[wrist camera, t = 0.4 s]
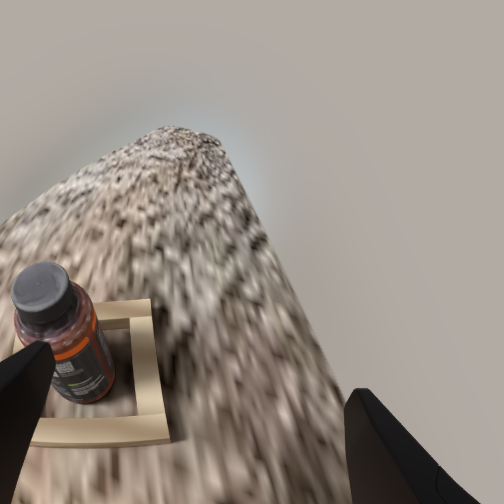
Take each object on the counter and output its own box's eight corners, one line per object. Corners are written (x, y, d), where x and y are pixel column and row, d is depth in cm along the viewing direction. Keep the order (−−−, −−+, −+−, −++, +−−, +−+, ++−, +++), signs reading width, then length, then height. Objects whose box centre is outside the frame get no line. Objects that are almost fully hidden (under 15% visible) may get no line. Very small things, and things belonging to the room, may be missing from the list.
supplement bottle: (88, 334, 26) (56, 236, 19) (130, 376, 24) (104, 283, 17) (40, 371, 22) (-15, 281, 15) (80, 420, 20) (22, 343, 13)
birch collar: (171, 443, 21) (169, 437, 20) (14, 444, 17) (6, 438, 16) (151, 309, 30) (149, 298, 29) (26, 316, 26) (21, 306, 25)
